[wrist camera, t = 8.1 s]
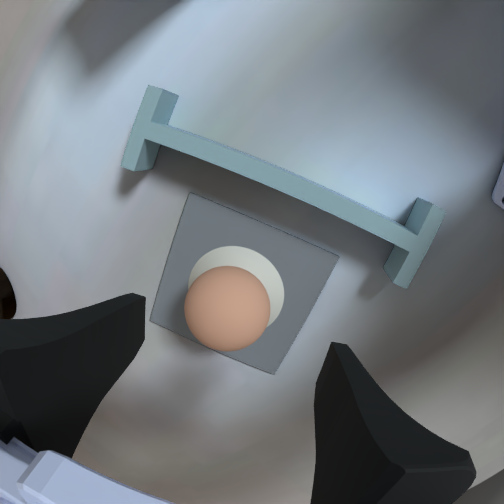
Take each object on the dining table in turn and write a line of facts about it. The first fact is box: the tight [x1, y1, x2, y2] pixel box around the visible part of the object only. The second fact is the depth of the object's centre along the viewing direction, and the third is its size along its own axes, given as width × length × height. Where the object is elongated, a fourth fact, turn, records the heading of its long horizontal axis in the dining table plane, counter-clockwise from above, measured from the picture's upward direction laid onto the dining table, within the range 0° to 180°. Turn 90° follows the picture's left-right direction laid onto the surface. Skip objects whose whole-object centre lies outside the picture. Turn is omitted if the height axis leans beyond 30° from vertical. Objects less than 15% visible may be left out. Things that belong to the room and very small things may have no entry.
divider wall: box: [121, 85, 446, 289], centre depth 17 cm, size 18×5×2 cm, turn 68°
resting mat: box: [150, 192, 339, 374], centre depth 21 cm, size 10×10×1 cm
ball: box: [184, 266, 270, 351], centre depth 19 cm, size 5×5×5 cm
